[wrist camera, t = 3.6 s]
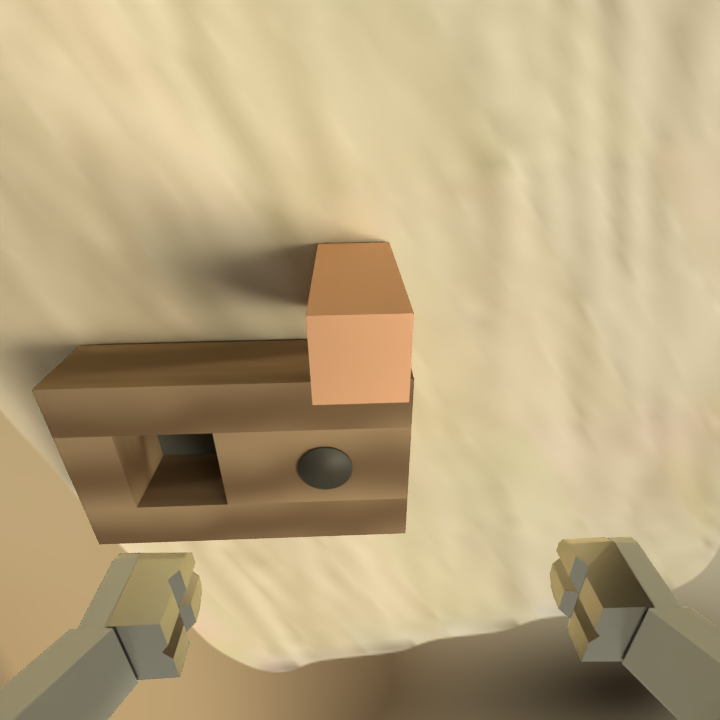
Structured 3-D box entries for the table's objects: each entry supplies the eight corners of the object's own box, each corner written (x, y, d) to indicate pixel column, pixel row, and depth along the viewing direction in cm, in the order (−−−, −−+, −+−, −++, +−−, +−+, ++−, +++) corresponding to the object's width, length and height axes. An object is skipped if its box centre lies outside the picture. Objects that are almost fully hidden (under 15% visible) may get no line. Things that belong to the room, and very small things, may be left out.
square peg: (317, 243, 25) (305, 316, 17) (389, 242, 25) (413, 313, 17) (321, 309, 27) (312, 405, 19) (387, 308, 27) (409, 402, 19)
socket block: (80, 345, 28) (29, 392, 23) (402, 337, 28) (414, 381, 24) (130, 487, 34) (97, 546, 29) (397, 478, 34) (405, 535, 30)
